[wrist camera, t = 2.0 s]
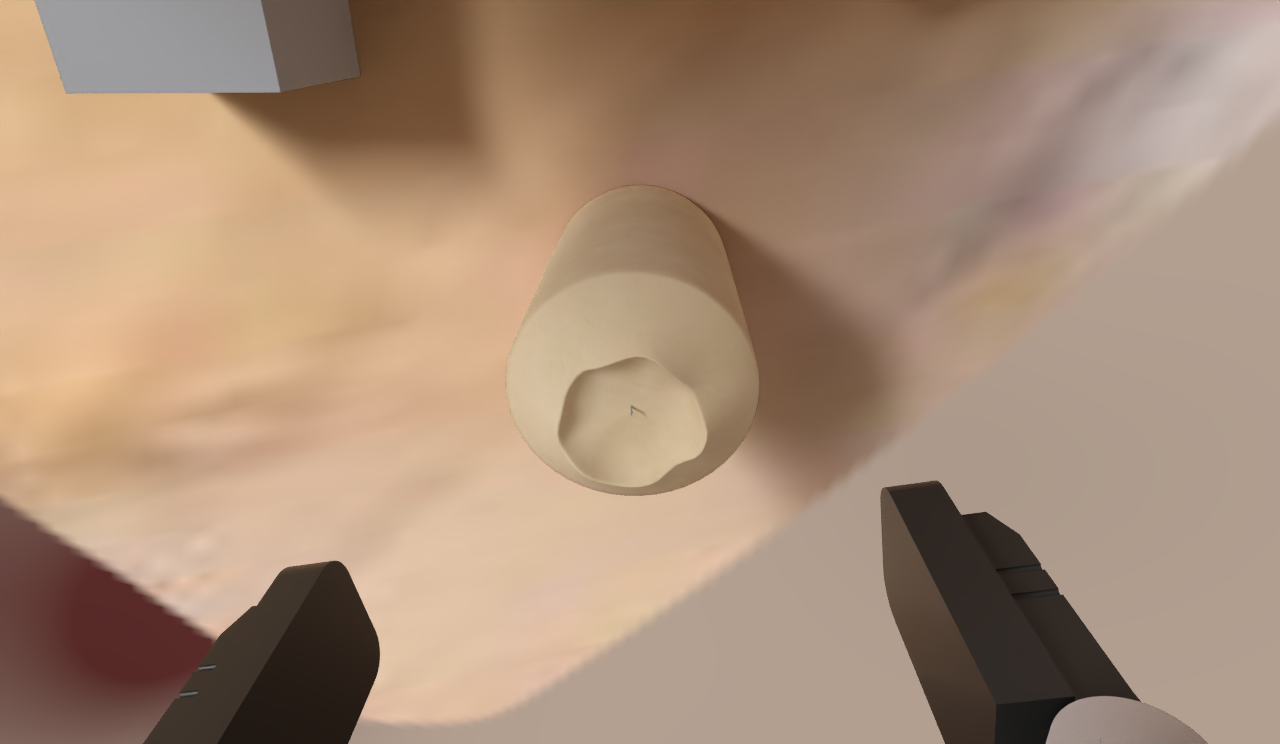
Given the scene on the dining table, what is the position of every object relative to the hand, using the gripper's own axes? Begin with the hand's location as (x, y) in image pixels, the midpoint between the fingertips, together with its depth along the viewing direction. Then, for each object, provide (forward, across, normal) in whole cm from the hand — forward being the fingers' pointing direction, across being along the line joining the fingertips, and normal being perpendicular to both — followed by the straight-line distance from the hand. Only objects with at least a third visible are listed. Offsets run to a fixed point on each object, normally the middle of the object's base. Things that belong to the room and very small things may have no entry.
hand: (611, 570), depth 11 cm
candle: (+14, 0, 0) cm, 14 cm away
